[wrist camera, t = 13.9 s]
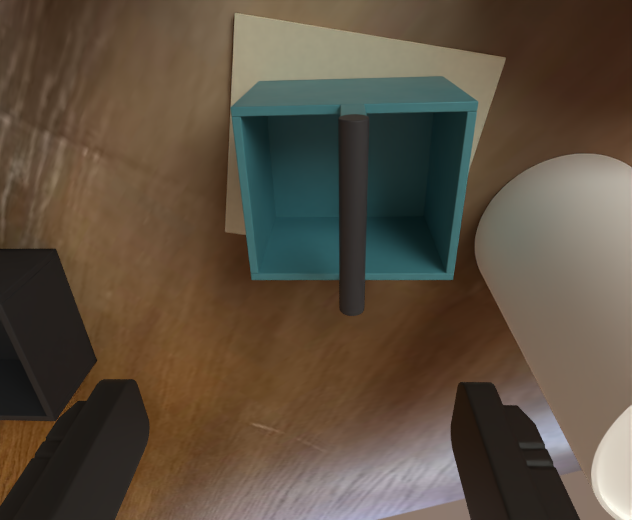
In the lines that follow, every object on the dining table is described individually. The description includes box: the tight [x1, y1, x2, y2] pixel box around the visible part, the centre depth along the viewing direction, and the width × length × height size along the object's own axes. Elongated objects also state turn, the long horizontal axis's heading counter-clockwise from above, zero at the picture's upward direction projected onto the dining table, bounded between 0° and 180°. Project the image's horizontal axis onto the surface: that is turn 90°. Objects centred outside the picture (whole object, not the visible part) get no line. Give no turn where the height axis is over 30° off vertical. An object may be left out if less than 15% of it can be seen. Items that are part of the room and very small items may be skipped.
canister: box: [475, 153, 632, 520], centre depth 27 cm, size 14×14×20 cm
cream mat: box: [225, 13, 506, 235], centre depth 33 cm, size 18×16×1 cm
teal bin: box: [230, 76, 478, 316], centre depth 28 cm, size 13×11×13 cm
